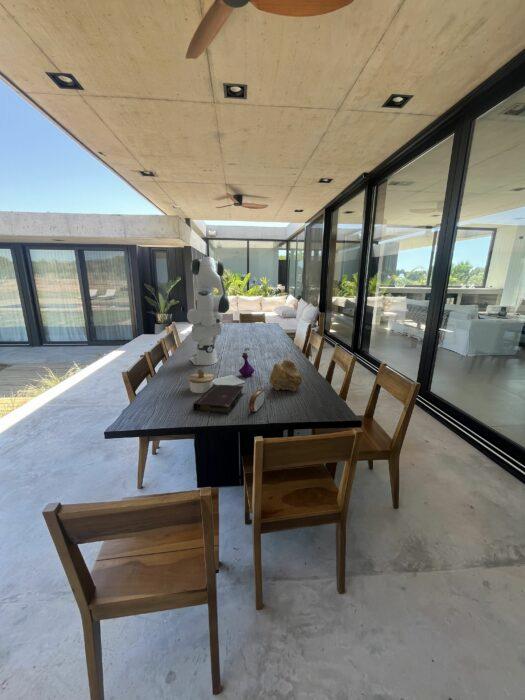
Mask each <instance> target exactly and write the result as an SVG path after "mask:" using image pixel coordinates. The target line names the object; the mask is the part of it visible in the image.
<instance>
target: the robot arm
mask: <svg viewBox="0 0 525 700" xmlns="http://www.w3.org/2000/svg"><path fill="white" fill-rule="evenodd" d="M225 270H226V269H225V264H224V262H222V261H220V260H215V259H214V258H213V257H212V256H204V257H203V258H202V259H200V258H194V259H193V260H192V261H191V263H190V271H191V273H192V275H194V276H198V279H199V280H198V284H197V285H198V287H197V293H196V294H197V295H196V300H195V308H191V309H189V310H188V312H187V314H186V318H187V321H188V322H189V323H191V325H192V326H191V336H190V337H191V340H192V341H193V342H197V344H196V349H195V351H193V353H192V354H191V355H192V357H191V358H189V360H190V361H191V362H192V363H193V365H194V366H196V365H197V366H211V365H215V364H217V362H218V361H219V359H218V357H217V356H218V355H217V354H218V353H217V350H216V349H215V347H216V345H215V344H216V340H217V338H218V336H220V335H221V334H222V320H223V318H224V316H223V314H226V313H227V312H228V311H229V310H230V308H231V307H230V306H231V305H230V300H229V298H228V294H227V291H226V287H225V282H224V279H223V275H224V274H225ZM215 289H217V290H218V293H219V295H215Z"/></svg>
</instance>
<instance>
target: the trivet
mask: <svg viewBox="0 0 525 700" xmlns="http://www.w3.org/2000/svg"><path fill="white" fill-rule="evenodd" d="M214 384H215V385H235V386H241V385H244V384H247V382H246V381H244V380H243V379H241V378H239V377H237V376H235V375H233V374H231V375H226V376H222V377H218V378H217V377H216V378H214V379H213V385H214Z"/></svg>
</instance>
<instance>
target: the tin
mask: <svg viewBox="0 0 525 700" xmlns="http://www.w3.org/2000/svg"><path fill="white" fill-rule="evenodd" d="M265 398H266V391H265V389H262V388H258V389H257V390H256V391H254V392H253V393H252V395H251V396H250V399H249V402H248V411H250V412H257V411H259V409H260V408H261V407H262V406H263V404H264V402H265Z"/></svg>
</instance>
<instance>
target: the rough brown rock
mask: <svg viewBox="0 0 525 700" xmlns="http://www.w3.org/2000/svg"><path fill="white" fill-rule="evenodd" d="M302 381H303V377H302V374H300V373H299V371H298V368H297V367H296V364H295V363H294V361H292V360H291V359H288V358H285V359H284V360H283V361H282V363H281V364H279V363H278V362H275V363H274V365H273V368H272V370H271V373H270V377H269V384H272V386H273V389H274V391H280V390H282V391H286V390H288V391H291V392H296V391H297V390H298V388H299V387H300V385H301V384H302Z"/></svg>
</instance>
